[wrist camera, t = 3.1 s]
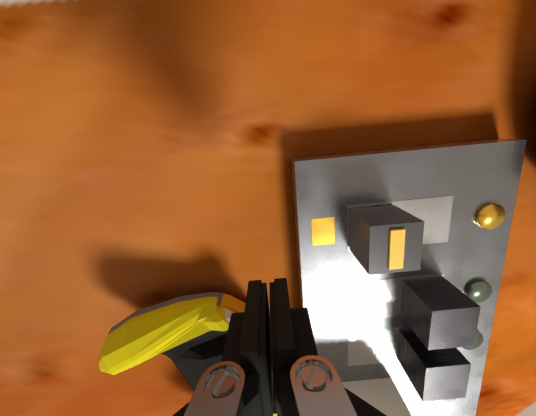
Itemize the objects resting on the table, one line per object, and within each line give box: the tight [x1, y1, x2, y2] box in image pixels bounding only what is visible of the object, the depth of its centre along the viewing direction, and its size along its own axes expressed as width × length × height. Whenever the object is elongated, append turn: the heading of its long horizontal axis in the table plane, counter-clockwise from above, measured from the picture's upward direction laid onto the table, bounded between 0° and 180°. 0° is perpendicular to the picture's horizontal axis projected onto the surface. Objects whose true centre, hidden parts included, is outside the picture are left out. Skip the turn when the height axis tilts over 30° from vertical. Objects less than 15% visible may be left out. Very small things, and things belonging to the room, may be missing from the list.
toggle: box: [350, 205, 424, 275], centre depth 16 cm, size 3×3×4 cm
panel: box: [291, 139, 527, 416], centre depth 19 cm, size 25×15×6 cm, turn 5°
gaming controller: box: [99, 292, 277, 416], centre depth 21 cm, size 15×6×10 cm
